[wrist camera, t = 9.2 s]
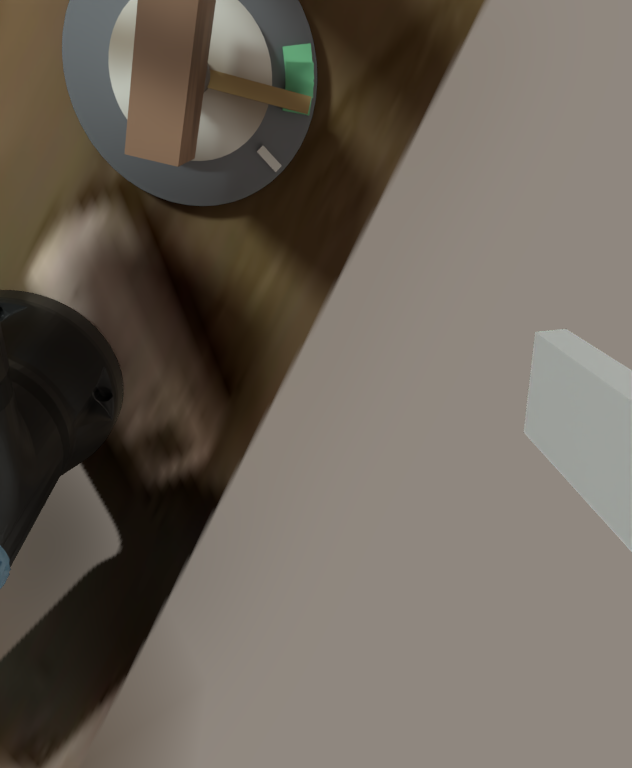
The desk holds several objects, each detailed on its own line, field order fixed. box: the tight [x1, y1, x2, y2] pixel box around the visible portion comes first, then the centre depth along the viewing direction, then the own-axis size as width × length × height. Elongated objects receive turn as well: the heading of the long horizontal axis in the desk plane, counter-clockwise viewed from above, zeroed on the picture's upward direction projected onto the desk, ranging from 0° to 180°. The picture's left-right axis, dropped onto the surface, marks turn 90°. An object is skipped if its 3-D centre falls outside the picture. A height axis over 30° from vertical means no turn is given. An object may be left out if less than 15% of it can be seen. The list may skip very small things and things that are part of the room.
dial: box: [108, 0, 311, 167], centre depth 29 cm, size 10×12×13 cm
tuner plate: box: [62, 0, 317, 206], centre depth 36 cm, size 16×16×2 cm
